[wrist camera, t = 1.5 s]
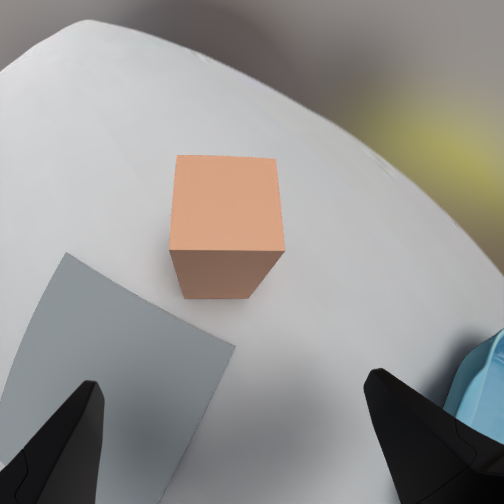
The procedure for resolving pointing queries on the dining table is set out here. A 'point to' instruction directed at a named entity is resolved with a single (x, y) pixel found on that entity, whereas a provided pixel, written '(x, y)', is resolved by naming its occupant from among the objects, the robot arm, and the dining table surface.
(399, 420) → the robot arm
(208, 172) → the block
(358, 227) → the dining table surface
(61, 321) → the mat
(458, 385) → the casserole dish
